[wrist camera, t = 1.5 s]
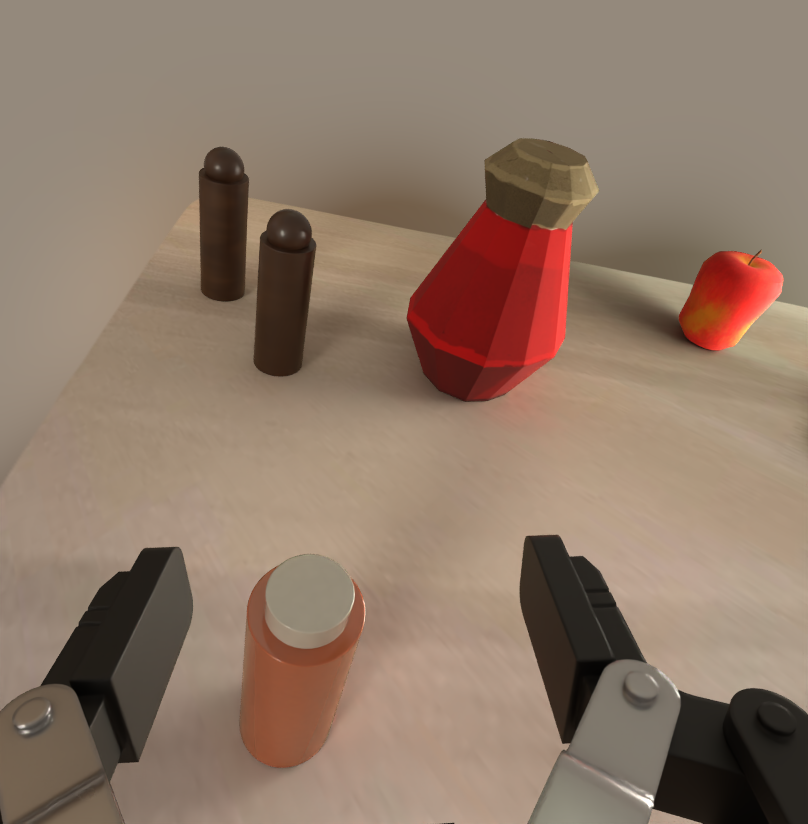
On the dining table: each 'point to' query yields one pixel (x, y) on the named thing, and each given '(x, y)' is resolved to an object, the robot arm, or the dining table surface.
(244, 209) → the post
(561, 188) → the bottle
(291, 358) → the post
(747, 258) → the apple
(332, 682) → the shaker
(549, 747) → the dining table surface
